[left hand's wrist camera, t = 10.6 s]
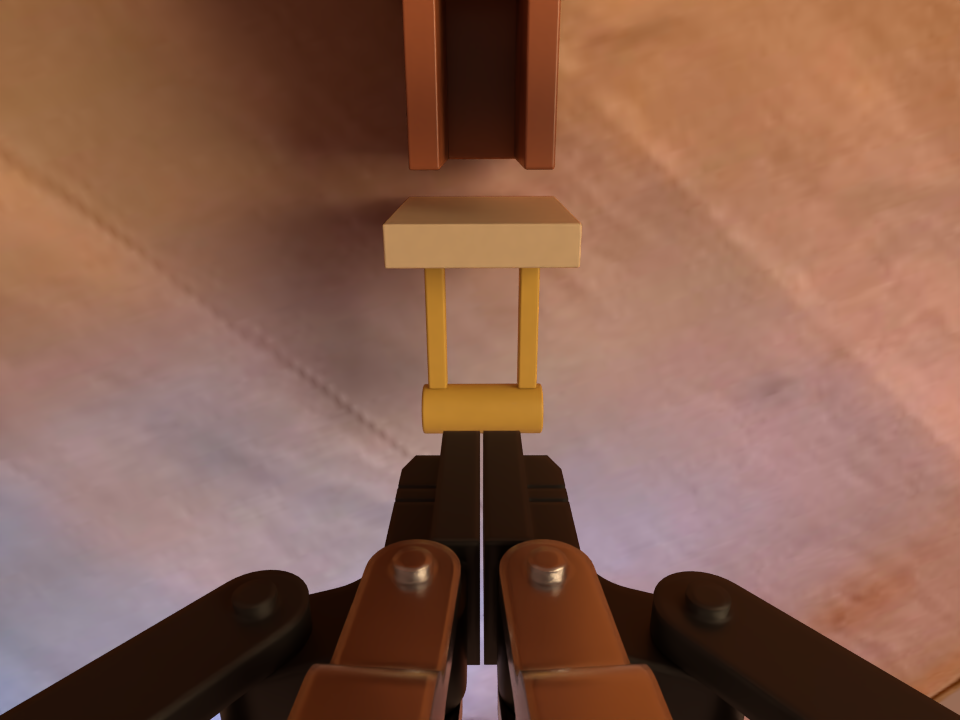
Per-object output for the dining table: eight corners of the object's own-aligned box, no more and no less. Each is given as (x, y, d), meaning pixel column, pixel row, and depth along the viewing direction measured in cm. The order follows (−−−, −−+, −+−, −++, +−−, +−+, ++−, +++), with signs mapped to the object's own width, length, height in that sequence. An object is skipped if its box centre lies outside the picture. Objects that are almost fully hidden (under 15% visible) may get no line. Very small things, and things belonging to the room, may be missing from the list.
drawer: (548, 380, 25) (570, 463, 19) (416, 380, 26) (395, 464, 19) (577, -438, 17) (632, -757, 11) (381, -436, 17) (324, -755, 11)
